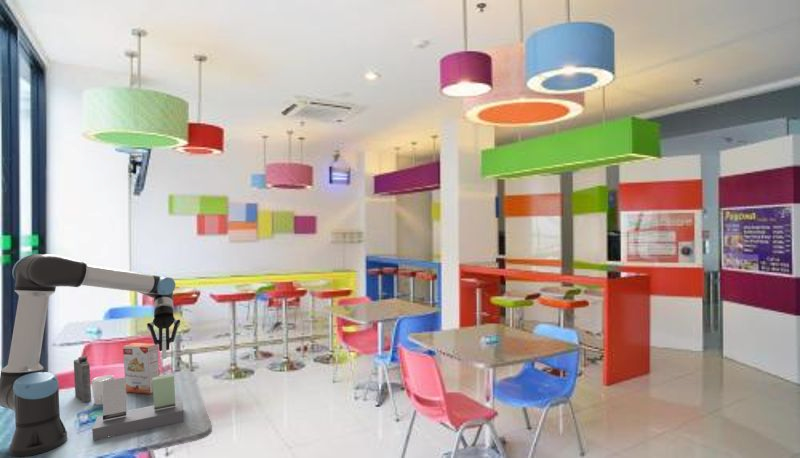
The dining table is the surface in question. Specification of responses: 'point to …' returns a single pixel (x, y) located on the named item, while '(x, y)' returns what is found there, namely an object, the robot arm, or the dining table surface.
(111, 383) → the light grey rectangular slab
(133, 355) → the cracker box
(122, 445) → the dining table surface
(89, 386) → the flask
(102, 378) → the white cup
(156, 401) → the pale green flat slab
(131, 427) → the panel
